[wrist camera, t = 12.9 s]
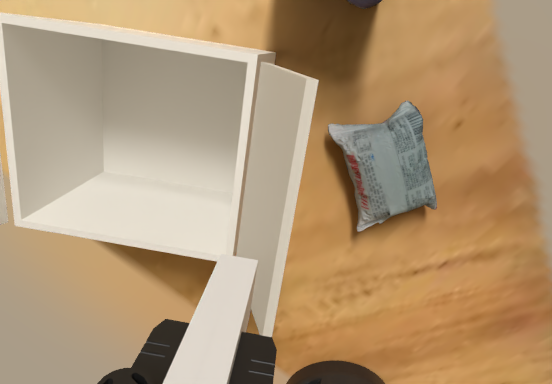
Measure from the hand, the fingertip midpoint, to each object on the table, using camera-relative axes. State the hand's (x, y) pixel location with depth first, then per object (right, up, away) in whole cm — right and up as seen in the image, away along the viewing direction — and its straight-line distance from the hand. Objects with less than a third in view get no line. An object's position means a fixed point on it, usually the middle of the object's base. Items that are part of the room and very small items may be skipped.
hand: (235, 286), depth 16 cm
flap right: (+1, +4, +8) cm, 9 cm away
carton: (-8, +12, +26) cm, 30 cm away
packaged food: (+13, +7, +26) cm, 30 cm away
